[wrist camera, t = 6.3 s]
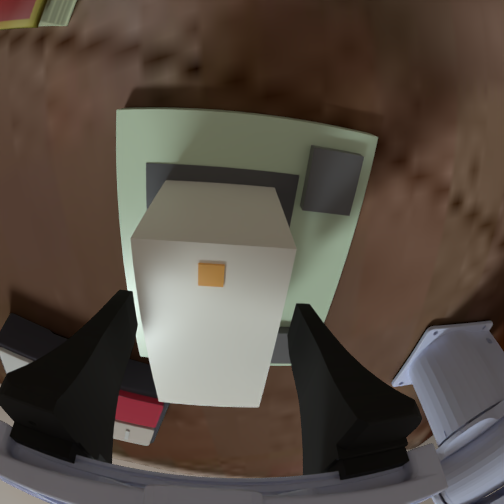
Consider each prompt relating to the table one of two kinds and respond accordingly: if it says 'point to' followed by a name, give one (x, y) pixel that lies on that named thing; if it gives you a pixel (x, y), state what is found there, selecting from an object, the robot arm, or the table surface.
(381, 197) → the table surface
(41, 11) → the hardcover book
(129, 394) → the calculator
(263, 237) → the block
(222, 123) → the pcb board
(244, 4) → the table surface
